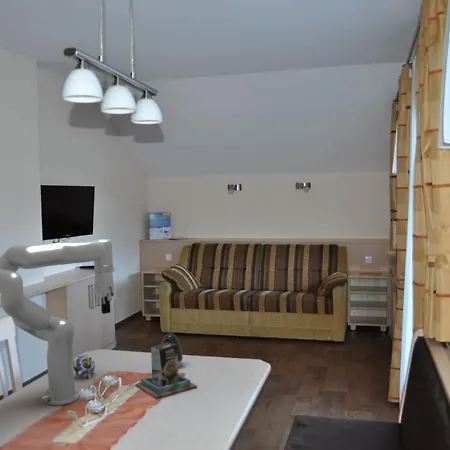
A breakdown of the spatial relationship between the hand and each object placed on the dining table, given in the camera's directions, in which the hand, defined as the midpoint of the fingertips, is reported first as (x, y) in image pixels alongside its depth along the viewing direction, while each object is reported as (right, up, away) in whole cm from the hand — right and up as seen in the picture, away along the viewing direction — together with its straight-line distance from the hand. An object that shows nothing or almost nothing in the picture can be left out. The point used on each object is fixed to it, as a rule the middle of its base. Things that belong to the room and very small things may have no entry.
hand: (106, 312), depth 225 cm
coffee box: (+25, -28, -7) cm, 38 cm away
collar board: (+25, -29, -6) cm, 39 cm away
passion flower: (-12, -29, +10) cm, 33 cm away
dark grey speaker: (+25, -27, +18) cm, 41 cm away
